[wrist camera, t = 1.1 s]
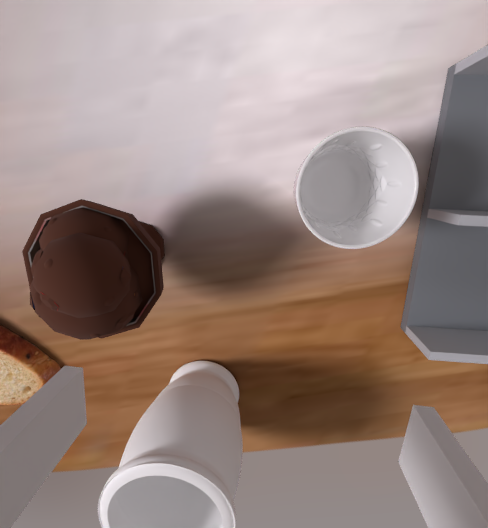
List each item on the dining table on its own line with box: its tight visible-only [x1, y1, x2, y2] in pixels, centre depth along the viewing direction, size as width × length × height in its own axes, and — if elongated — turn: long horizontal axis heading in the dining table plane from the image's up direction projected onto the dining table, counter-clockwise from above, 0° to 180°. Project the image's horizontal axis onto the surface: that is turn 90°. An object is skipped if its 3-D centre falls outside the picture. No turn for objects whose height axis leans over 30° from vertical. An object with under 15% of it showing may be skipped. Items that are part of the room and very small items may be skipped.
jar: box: [98, 361, 242, 528], centre depth 31 cm, size 11×10×15 cm
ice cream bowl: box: [23, 199, 165, 339], centre depth 26 cm, size 11×11×15 cm
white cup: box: [294, 126, 419, 249], centre depth 26 cm, size 8×8×10 cm
